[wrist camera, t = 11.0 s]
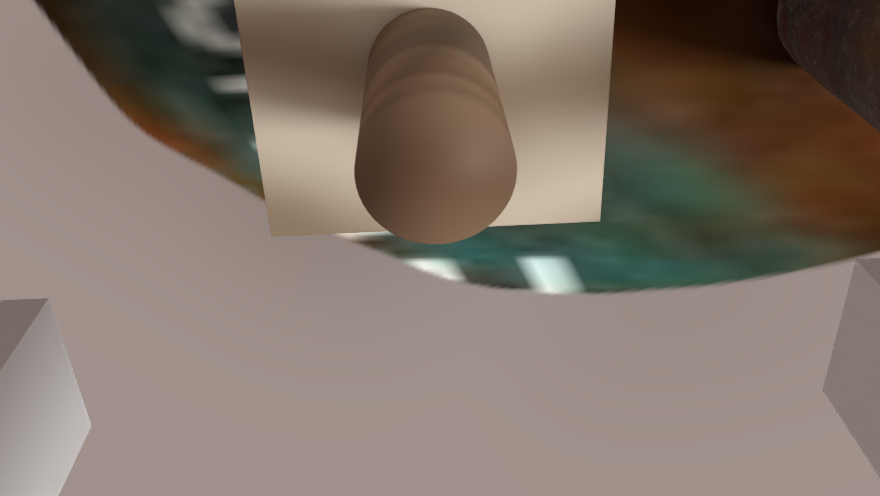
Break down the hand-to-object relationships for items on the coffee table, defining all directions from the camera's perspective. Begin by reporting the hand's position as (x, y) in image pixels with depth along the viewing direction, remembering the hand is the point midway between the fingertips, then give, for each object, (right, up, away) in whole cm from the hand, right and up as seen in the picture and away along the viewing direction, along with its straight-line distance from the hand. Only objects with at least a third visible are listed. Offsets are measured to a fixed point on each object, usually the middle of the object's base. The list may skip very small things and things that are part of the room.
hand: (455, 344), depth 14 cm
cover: (-1, +8, +14) cm, 16 cm away
